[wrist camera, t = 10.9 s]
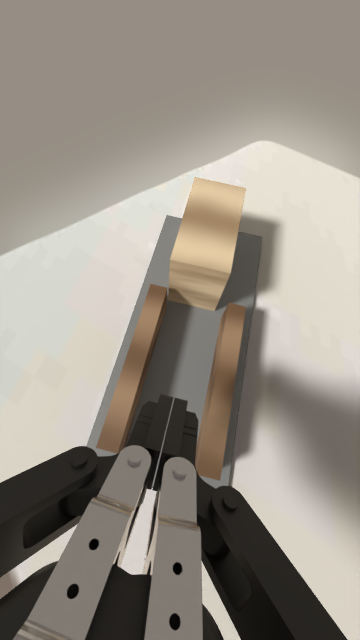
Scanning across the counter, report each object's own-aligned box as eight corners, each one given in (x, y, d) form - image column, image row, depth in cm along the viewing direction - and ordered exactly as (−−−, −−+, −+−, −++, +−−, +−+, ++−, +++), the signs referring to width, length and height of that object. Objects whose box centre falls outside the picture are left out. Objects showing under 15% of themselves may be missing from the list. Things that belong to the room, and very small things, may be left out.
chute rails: (151, 301, 27) (150, 283, 24) (236, 321, 27) (246, 306, 24) (105, 445, 22) (95, 447, 18) (211, 473, 21) (220, 480, 18)
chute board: (166, 218, 33) (166, 215, 32) (260, 239, 32) (262, 237, 32) (80, 467, 21) (78, 468, 21) (223, 505, 21) (225, 507, 20)
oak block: (188, 229, 31) (194, 177, 25) (228, 238, 31) (245, 188, 25) (168, 300, 27) (169, 259, 21) (214, 311, 27) (230, 273, 21)
